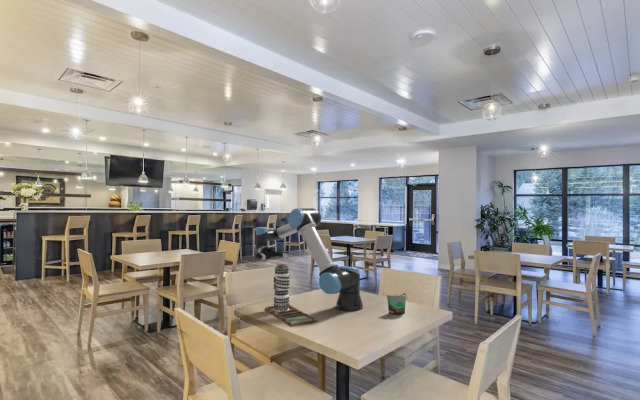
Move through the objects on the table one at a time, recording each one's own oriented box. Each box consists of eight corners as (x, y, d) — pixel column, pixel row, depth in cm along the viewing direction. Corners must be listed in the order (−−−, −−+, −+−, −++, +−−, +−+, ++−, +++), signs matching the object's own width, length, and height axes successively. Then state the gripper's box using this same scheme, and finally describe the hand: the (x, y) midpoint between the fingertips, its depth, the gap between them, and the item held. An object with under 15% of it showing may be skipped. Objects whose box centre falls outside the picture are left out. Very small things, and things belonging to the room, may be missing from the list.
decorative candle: (293, 309, 196) (293, 264, 197) (280, 313, 190) (281, 266, 190) (282, 306, 203) (282, 263, 203) (269, 310, 196) (270, 264, 196)
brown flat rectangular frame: (265, 308, 198) (265, 307, 198) (288, 305, 205) (288, 303, 205) (291, 326, 169) (291, 324, 169) (317, 321, 176) (317, 319, 176)
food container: (393, 316, 185) (393, 297, 185) (386, 313, 190) (386, 295, 190) (412, 313, 190) (412, 295, 191) (404, 310, 196) (404, 292, 196)
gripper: (284, 257, 230) (295, 262, 211) (246, 259, 220) (254, 264, 200) (284, 246, 230) (296, 249, 211) (246, 247, 220) (255, 251, 201)
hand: (276, 256), depth 206 cm, fingers open, 13 cm apart
